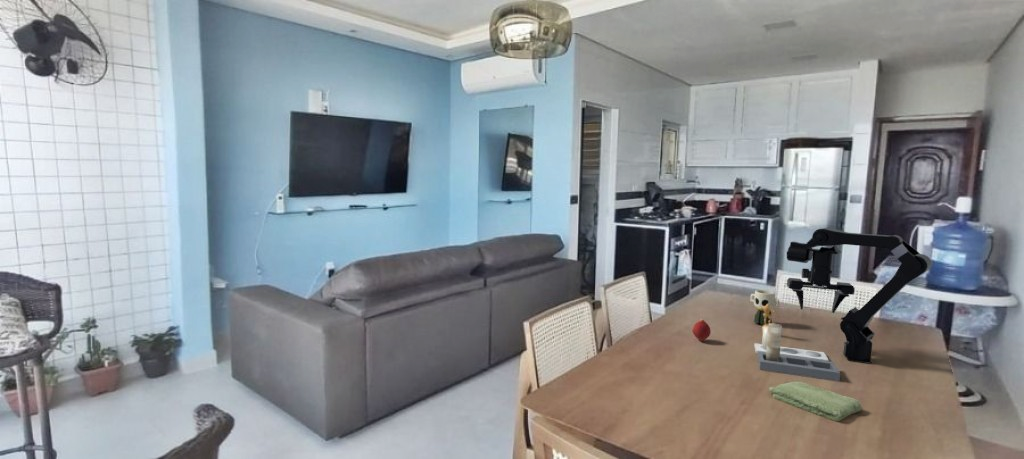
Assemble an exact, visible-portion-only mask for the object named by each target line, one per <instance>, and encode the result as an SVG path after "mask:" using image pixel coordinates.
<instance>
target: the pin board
mask: <svg viewBox="0 0 1024 459" xmlns="http://www.w3.org/2000/svg"><path fill="white" fill-rule="evenodd" d="M756 358H757V364H758V367H759V370H761V371H769V372H774V373H781V374H786V375H787V374H788V375H794V376H801V377H807V378H809V377H810V378H816V379H820V380H829V381H834V382H835V381H836V382H840V378H841V372H840V370H839V368H838V367H837V365H836V364H835V362H834V361H830V360H829V361H824V360H816V359H809V358H802V357H794V356H787V355H780V358H779V362H775V361H768V360H766V353H765V352H758V354H757V357H756Z"/></svg>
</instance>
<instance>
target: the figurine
mask: <svg viewBox="0 0 1024 459" xmlns="http://www.w3.org/2000/svg"><path fill="white" fill-rule="evenodd" d="M759 309H763V310H764V312H765V313H763V316H764V318H765V319H764V322H765V325H762V327H761V331H762V333H763V327H764V326H769V324H766V317H767V316H768V318H769V319H770V320H769V323H770V322H771V319H772V320H773V318H771V316H772V312H773V313H774V314H775V316H777V317H778V319H779V320H780V316H779V314H778V313H777V311H775V310H774V309H771V308H770V307H769V304H767V305H766V306H764V307H761V308H756V310H757V311H756V310H755V314H756V313H757V312H758V310H759ZM770 311H771V314H769V312H770ZM755 314H754V315H755Z"/></svg>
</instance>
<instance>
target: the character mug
mask: <svg viewBox="0 0 1024 459" xmlns="http://www.w3.org/2000/svg"><path fill="white" fill-rule="evenodd" d="M749 300H750V302H751V303H753V305H754V307H755V308H756V310H755V313H756V311H757V309H758V308H761V307H764V306H766V305H767V304H769V307H770V308H771V309H772V310H774V308H778V307H779V306H780V299H778V298H776V293H775V292H774V291H771V290H767V289H756V290H755V291H754V293H751V294H750V299H749ZM763 313H765V312H764V310H763V309H759V310H758V312H757V313H756V314H754V319H753V322H754V323H755V324H757V325H758V324H759V325H762V326H763V325H765V322H764V319H765V318H764V316H763ZM769 314H771V318H772V311H770V312H769ZM769 320H770V319H769V318H768V316H767V317H766V324H769ZM770 323H773V318H772V319H771V322H770Z"/></svg>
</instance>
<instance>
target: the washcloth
mask: <svg viewBox="0 0 1024 459" xmlns="http://www.w3.org/2000/svg"><path fill="white" fill-rule="evenodd" d="M768 392H770V393H771V394H772V398H773V399H774V400H777V401H781V402H784V403H785V404H788V405H790V406H793V407H796V408H799V409H802V410H804V411H806V412H810V413H812V414H815V415H816V416H817V415H818V416H820V417H823V418H825V419H828V420H831V421H832V422H833V421H834V422H840V421H841V420H843V419H845V418H847V417H848V416H850V415H854V414H856V413H859V412H861V411H862V408H863V407H862V405H861V403H860V401H859V400H857V399H855V398H853V397H849V396H844V395H842V394H839V393H837V392H833V391H829V390H828V389H827V390H826V389H823V388H821V387H817V386H816V385H815V386H814V385H811V384H809V383H805V382H803V381H790V382H788V383H787V382H786V383H779V385H777V386H770V387H769V388H768Z"/></svg>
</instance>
